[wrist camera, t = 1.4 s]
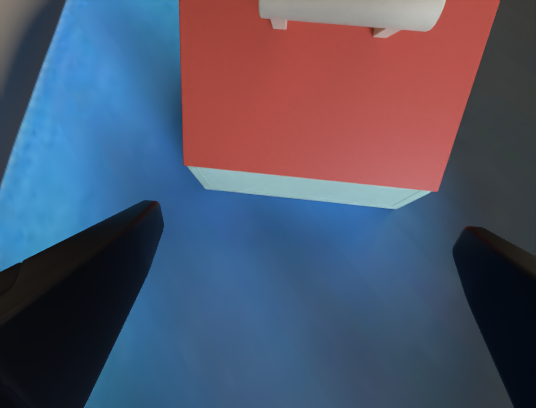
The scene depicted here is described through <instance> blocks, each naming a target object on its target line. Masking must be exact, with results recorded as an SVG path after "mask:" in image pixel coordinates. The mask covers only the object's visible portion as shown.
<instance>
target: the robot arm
mask: <svg viewBox="0 0 536 408" xmlns="http://www.w3.org/2000/svg"><path fill="white" fill-rule="evenodd" d="M163 228H164V223H163V217H162V212H161V207H160V204H159V203H158V202H157V201H149V200H144V201H142V202H140V203H138V204H136V205H134V206H132V207H130V208H128V209H126V210H124V211H122V212H119V213H117V214H115V215H113V216H111V217H109V218H107V219H105V220H103V221H101V222H99V223H97V224H95V225H93V226H91V227H89V228H87V229H85V230H83V231H81V232H79V233H77V234H75V235H73V236H71V237H69V238H67V239H65V240H63V241H61V242H59V243H57V244H55V245H53V246H51V247H49V248H47V249H45V250H43V251H41V252H39V253H37V254H35V255H33V256H31V257H29V258H27V259H25V260H23V262H22V263H17V264H15V265H13V266H11V267H9V268H7V269H5V270H3V271H1V272H0V408H84V406H85V404H86V402H87V400H88V398H89V396H90V394H91V392H92V390H93V388H94V385H95V383H96V381H97V379H98V377H99V375H100V373H101V371H102V369H103V367H104V365H105V363H106V360H107V358H108V356H109V354H110V352H111V350H112V348H113V346H114V344H115V342H116V340H117V338H118V335H119V333H120V331H121V329H122V327H123V325H124V323H125V321H126V319H127V317H128V315H129V313H130V310H131V308H132V306H133V304H134V302H135V300H136V298H137V296H138V294H139V292H140V290H141V288H142V285H143V283H144V281H145V279H146V277H147V275H148V272H149V270H150V267H151V264H152V261H153V258H154V255H155V252H156V250H157V247H158V244H159V241H160V238H161V235H162V232H163ZM452 253H453V258H454V261H455V264H456V267H457V270H458V274H459V277H460V280H461V283H462V286H463V289H464V293H465V296H466V298H467V301H468V304H469V306H470V309H471V311H472V313H473V316H474V318H475V320H476V322H477V325H478V327H479V329H480V331H481V334H482V336H483V338H484V341H485V343H486V345H487V347H488V350H489V352H490V354H491V356H492V359H493V361H494V363H495V366H496V368H497V370H498V372H499V375H500V377H501V379H502V381H503V384H504V386H505V388H506V391H507V393H508V395H509V397H510V400H511V402H512V404H513V406H514V408H536V256H534V255H532V254H530V253H528V252H526V251H525V250H523V249H521V248H519V247H517V246H516V245H514V244H512V243H510V242H508V241H506V240H505V239H503V238H501V237H499V236H497V235H496V234H494V233H492V232H490V231H488V230H486V229H485V228H482V227H473V226H467V227H465V228H464V229H463V230H462V232H461V234H460V235H459V237H458V239H457V241H456V243H455V244H454V246H453V250H452Z"/></svg>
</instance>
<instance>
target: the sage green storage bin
mask: <svg viewBox="0 0 536 408" xmlns="http://www.w3.org/2000/svg"><path fill="white" fill-rule="evenodd" d="M187 167H188V168H189V170H190V171H191V172H192V173H193V174H194V176H195V177H196V178H197V179H198V181H199V182H200V183H201V184H202V185H203V187H204V188H205V189H211V190H220V191H229V192H239V193H248V194H258V195H267V196H276V197H286V198H295V199H305V200H314V201H323V202H333V203H342V204H352V205H361V206H370V207H380V208H389V209H398V208H400V207H402V206H404V205H406V204H408V203H410V202H412V201H414V200H416V199H418V198H420V197H422V196H424V195H426V194H428V193H430V192H431V191H425V190H415V189H405V188H396V187H386V186H376V185H367V184H357V183H347V182H338V181H328V180H318V179H309V178H299V177H289V176H280V175H270V174H260V173H251V172H241V171H231V170H222V169H212V168H202V167H193V166H187Z"/></svg>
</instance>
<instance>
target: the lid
mask: <svg viewBox="0 0 536 408" xmlns="http://www.w3.org/2000/svg"><path fill="white" fill-rule="evenodd" d="M499 2H500V0H179V24H180V60H181V97H182V133H183V165H184V166H193V167H202V168H212V169H222V170H231V171H241V172H251V173H260V174H270V175H280V176H289V177H299V178H309V179H318V180H328V181H338V182H347V183H357V184H367V185H376V186H386V187H396V188H405V189H415V190H425V191H434V192H437V191H438V189H439V186H440V183H441V180H442V177H443V174H444V171H445V168H446V164H447V161H448V158H449V155H450V152H451V149H452V146H453V143H454V140H455V137H456V134H457V131H458V128H459V125H460V122H461V119H462V115H463V112H464V109H465V106H466V103H467V100H468V97H469V94H470V91H471V88H472V85H473V82H474V79H475V76H476V73H477V70H478V67H479V63H480V60H481V57H482V54H483V51H484V48H485V45H486V42H487V39H488V36H489V33H490V30H491V27H492V24H493V21H494V18H495V14H496V11H497V8H498V5H499Z"/></svg>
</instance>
